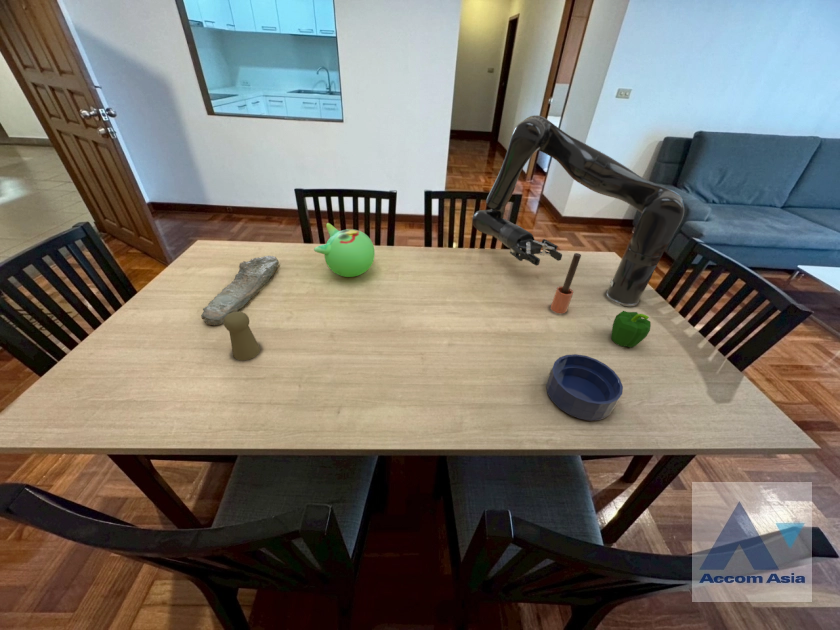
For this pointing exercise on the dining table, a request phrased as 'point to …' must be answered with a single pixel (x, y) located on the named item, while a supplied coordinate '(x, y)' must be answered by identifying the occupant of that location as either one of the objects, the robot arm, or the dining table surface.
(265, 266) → the long grey stone
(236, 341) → the olive brown pawn
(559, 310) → the utensil cup
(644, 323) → the bell pepper
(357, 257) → the toy bird
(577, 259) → the stirring stick
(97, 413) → the dining table surface
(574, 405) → the blue bowl
